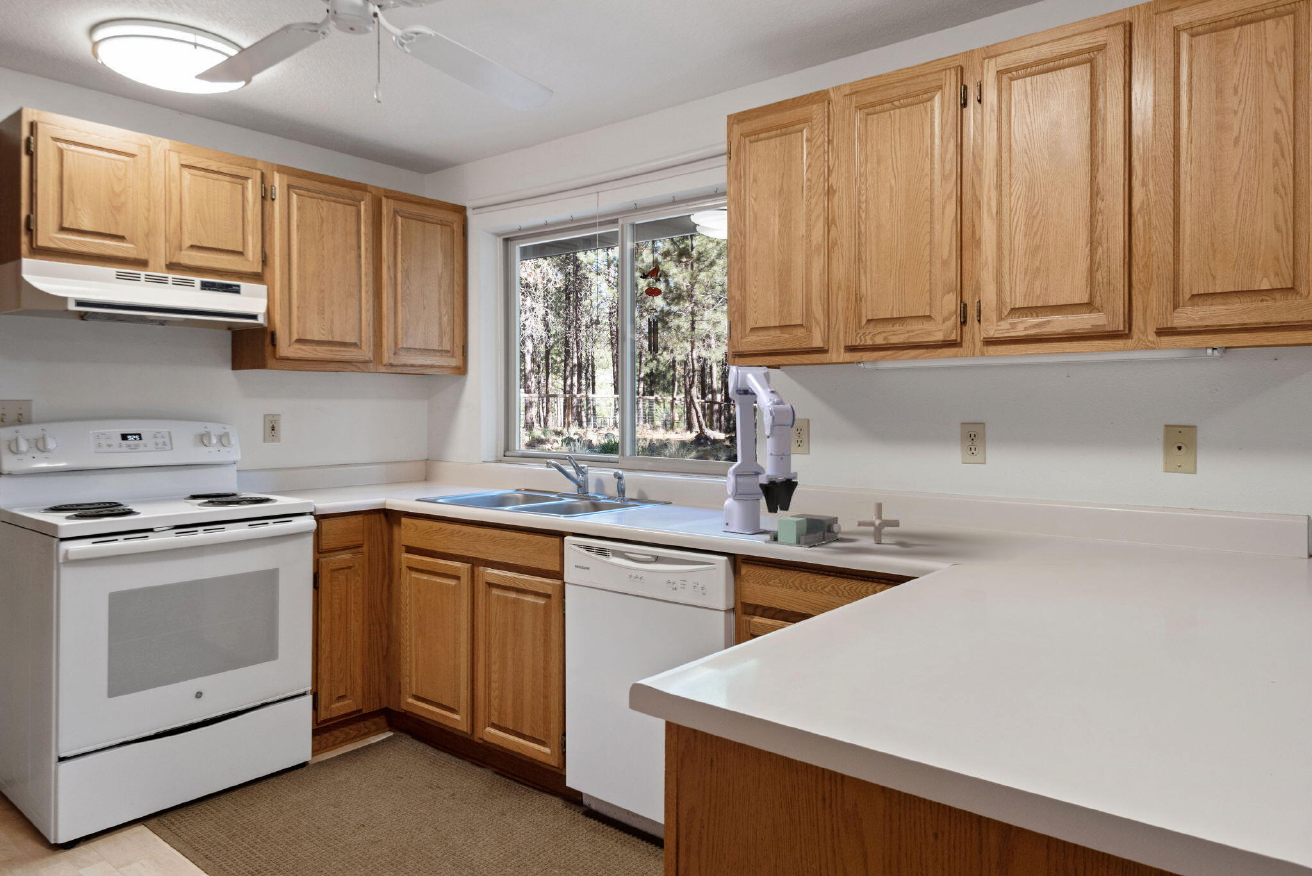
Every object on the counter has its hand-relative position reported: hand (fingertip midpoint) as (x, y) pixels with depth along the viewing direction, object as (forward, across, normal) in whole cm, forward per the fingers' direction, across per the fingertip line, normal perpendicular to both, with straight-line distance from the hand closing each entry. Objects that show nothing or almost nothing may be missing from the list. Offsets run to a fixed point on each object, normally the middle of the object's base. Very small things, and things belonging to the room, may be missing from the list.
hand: (778, 511), depth 197 cm
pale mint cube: (+8, +7, 0) cm, 11 cm away
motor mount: (+8, +12, 0) cm, 15 cm away
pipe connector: (+9, +20, -16) cm, 27 cm away
